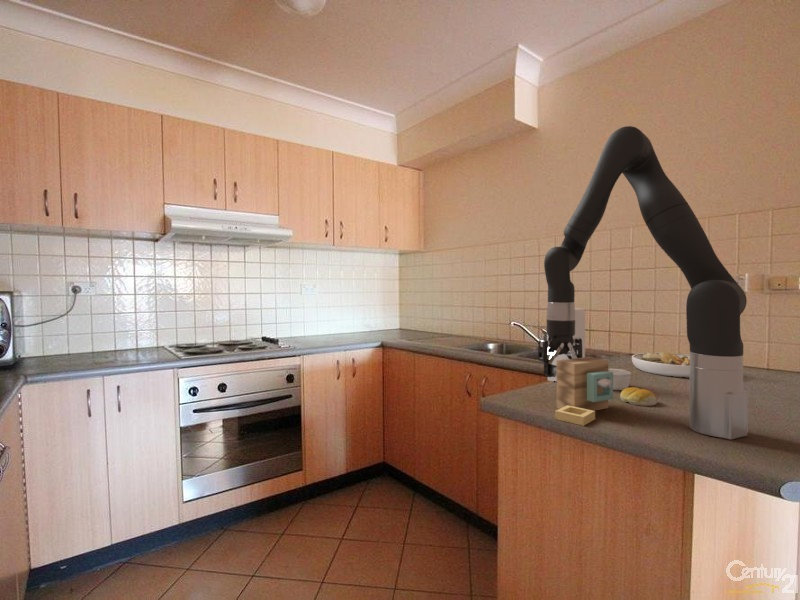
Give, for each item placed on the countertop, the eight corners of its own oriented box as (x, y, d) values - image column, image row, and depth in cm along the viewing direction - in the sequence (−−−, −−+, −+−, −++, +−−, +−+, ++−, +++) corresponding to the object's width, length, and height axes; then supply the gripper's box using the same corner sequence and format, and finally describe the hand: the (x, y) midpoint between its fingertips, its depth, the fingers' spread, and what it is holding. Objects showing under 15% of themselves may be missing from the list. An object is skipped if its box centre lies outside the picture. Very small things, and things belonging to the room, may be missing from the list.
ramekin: (609, 382, 136) (609, 366, 136) (639, 389, 126) (639, 372, 125) (584, 385, 132) (584, 369, 132) (613, 393, 122) (613, 375, 121)
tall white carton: (571, 385, 131) (571, 309, 130) (547, 380, 138) (547, 308, 137) (585, 381, 136) (585, 308, 136) (561, 377, 143) (561, 307, 143)
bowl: (620, 371, 153) (620, 351, 153) (645, 362, 174) (645, 344, 174) (719, 385, 131) (719, 361, 131) (734, 371, 152) (734, 351, 152)
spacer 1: (595, 419, 97) (595, 410, 97) (583, 425, 92) (583, 417, 92) (567, 412, 102) (567, 405, 102) (555, 419, 97) (555, 410, 97)
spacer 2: (613, 398, 101) (613, 372, 101) (593, 402, 99) (593, 374, 99) (606, 397, 103) (606, 370, 103) (586, 400, 101) (586, 373, 100)
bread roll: (636, 397, 117) (636, 383, 117) (663, 405, 108) (663, 391, 108) (612, 399, 115) (612, 385, 115) (637, 407, 107) (637, 392, 107)
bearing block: (608, 408, 106) (608, 360, 106) (574, 413, 101) (574, 364, 101) (589, 402, 111) (589, 356, 111) (556, 407, 107) (556, 360, 106)
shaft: (613, 390, 99) (613, 376, 99) (603, 391, 98) (603, 378, 98) (555, 375, 117) (555, 364, 117) (546, 376, 116) (546, 365, 116)
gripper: (551, 320, 106) (550, 380, 107) (590, 318, 112) (589, 376, 112) (531, 318, 113) (531, 375, 114) (569, 316, 119) (568, 370, 119)
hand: (560, 375), depth 113 cm, fingers open, 8 cm apart
